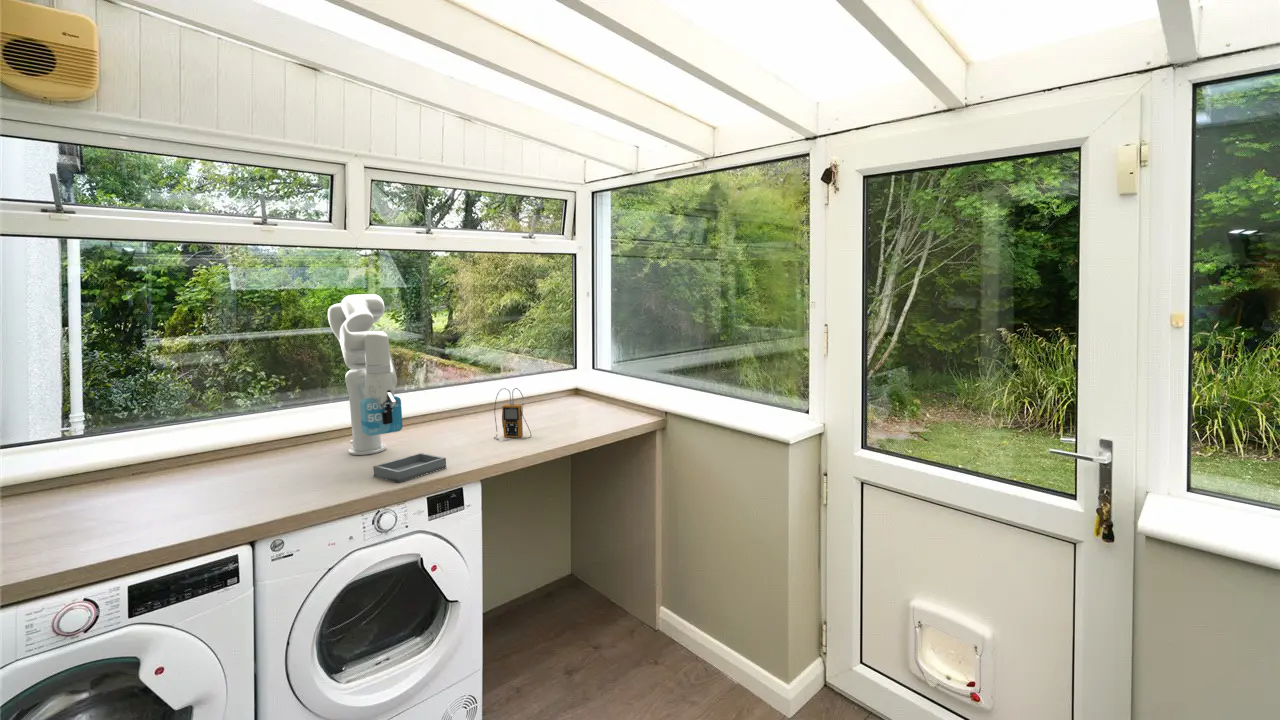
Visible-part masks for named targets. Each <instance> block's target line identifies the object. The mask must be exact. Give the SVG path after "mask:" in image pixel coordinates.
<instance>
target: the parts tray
mask: <svg viewBox="0 0 1280 720" xmlns="http://www.w3.org/2000/svg"><path fill="white" fill-rule="evenodd" d="M446 460H447V458H446V457H444V456H438V455H433V454H429V453H424V452H419V453H415V454H412V455H408V456H404V457H401V458H398V459H394V460H391V461H387V462H384V463H380V464H376V465H373V467H372V468H373V477H374V478H377V477H378V479H381V478H382V479H383V480H385V479H387V480H386V481H389V480H391V481H390V482H393V481H394V483H397V484H400V482H401V483H403V481H404V482H406V480H407V481H409V479H410V480H413V479H416V478H415V477H417V478H419V477H418V476H420V477H422V476H421V475H423V476H425V475H424V474H426V473H429V474H431V473H430V472H432V473H434V472H433V471H435V472H437V471H436V470H438V471H440V470H439V469H442V468H445V467H446V468H447V461H446ZM446 468H445V469H446ZM442 470H443V469H442ZM426 475H427V474H426ZM412 478H413V479H412Z"/></svg>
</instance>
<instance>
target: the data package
mask: <svg viewBox="0 0 1280 720" xmlns="http://www.w3.org/2000/svg"><path fill="white" fill-rule="evenodd" d="M394 399H395V401H396V404H395V405H394V408H393V411H392V420H393V422H392V423H389V424H383V415H382V413H383V412H384V411H383V408H382V404H381V405H379V404H376V400H375V399H369V398H366V399H363V400H361V402H360V411H361V424H362V432H363V433H365V434H367V435H368V436H373V435H379V434H380V435H385V434H390V433H396V432H400V431H402V429H403V427H404V426H403V412H402V400H401V397H399V396H397V395H394ZM387 402H388V401H386V402H385V403H387ZM387 406H388V405H386V407H387Z"/></svg>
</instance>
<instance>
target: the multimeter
mask: <svg viewBox="0 0 1280 720" xmlns="http://www.w3.org/2000/svg"><path fill="white" fill-rule="evenodd" d="M502 390H506V391H508V392H509V404H504V405H502V406H501V408H502V409H501V410H502V412H501V424H502V429H503V437H504V438H505V439H500V438H498V435H496V436H494V437H493V439H494V440H496V441H501V442H506V441H509V440H519V439H521V437H522V436H524V431H523V420H524V422H525V424H526V427H527V428H528V431H529V433H530V435H532V431H531V430H530V427H529V425H528V423H527V420H526V418H525V417H524V413H523V412H524V406H523V404H522V405H521V404H515V403H514V391H515V390H517V391H519V392H520V394H521V396H522V398H524V395H523V393H522V391H521V390H520V389H518V388H517V387H514V389H512V393H511V392H510V390H509V389H507V388H505V387H503V388H501V389H500V390H499V391H498V392H497V394H496V397H495V402H494V406H496V405H497V399H498V396H499V393H500V392H501V391H502ZM511 394H512V395H511ZM511 396H512V397H511ZM494 414H496V408H494ZM494 421H495V423H497V418H496V416H494ZM495 429H496V431H498V425H497V424H495ZM506 437H507V438H506ZM527 438H528V439H530V438H531V436H528V437H524V438H523V440H527Z"/></svg>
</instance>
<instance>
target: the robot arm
mask: <svg viewBox="0 0 1280 720" xmlns="http://www.w3.org/2000/svg"><path fill="white" fill-rule="evenodd" d="M384 314H385V304H384V300H383V299H382V297H381V296H380V295H378V294H376V293H375V294H373V293H371V294H367V293H366V294H361V293H360V294H349V295H347V296H344V298H343V299H342V300H341V302H339V303H335V304H332V305H330V306H329V308H328V309H327V319H328V324H329V326H330V329H331V330H332V332H333V335H334V336H335V337H336V339H337V340H338V342H339V344H340V348H341V352H342V356H343V360H344V363H345V365H346V367H347V368H348V369H349V370H348V371H347V372H346V373H345V376H344V381H345V385H346V388H347V389H346V390H347V394H348V399H349V408H350V420H351V433H352V439H351V440H350V441H349V443H350V444H352V447H351V448H349V449H348V453H349V454H350V455H353V456H367V455H372V454H377V453H381V452H383V451H385V450H386V449H387V447H386V444H383V443H382V438H381V436H382V435H381V434H379V435H373V436H368V435H367V434H365V433H363V432H362V424H361V411H360V402H361V400H363V399H366V398H369V399H375V400H376V404H379V405H381V404H382V408H383V411H384V412H383V413H382V415H383V424H389V423H392V422H393V420H392V411H393V408H394V405H395V404H396V401H395V399H394V396H395V390H394V389H395V388H396V387H397V385H398V377H397V371H396V369H395V365H394V361H393V359H392V355H391V353H390V352H391V351H390V339H389V338H390V337H389V336H388V334H387V333H385V332H384V331H383V330H371V331H369V330H370V329H371V328H372V327H373V325H374V324H375V323H377V322H378V321H379V320H380V319H381V318H382V317H383V315H384ZM386 401H388V402H387V403H385V402H386ZM386 405H388V406H387V407H386Z"/></svg>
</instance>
